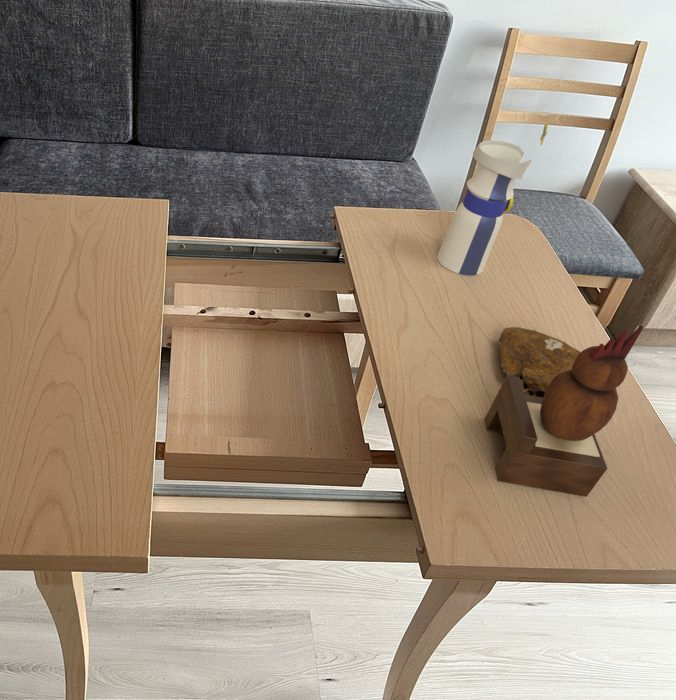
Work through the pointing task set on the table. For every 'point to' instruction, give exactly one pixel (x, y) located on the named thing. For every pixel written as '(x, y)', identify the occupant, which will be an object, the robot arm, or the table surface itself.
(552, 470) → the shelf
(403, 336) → the table surface
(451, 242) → the water bottle
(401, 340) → the table surface
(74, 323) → the table surface
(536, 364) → the decorative rock
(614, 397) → the wooden figurine
